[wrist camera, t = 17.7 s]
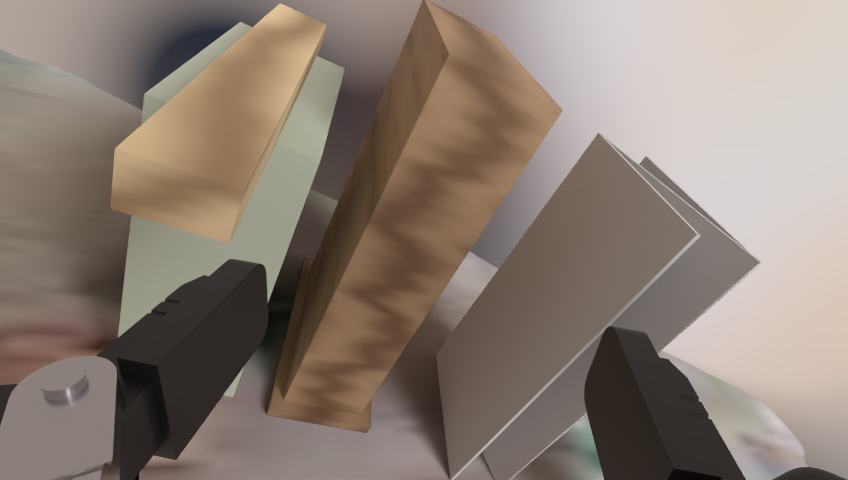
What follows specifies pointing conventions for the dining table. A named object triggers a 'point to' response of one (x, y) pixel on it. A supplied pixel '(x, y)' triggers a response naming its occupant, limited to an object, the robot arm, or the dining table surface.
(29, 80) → the dining table surface
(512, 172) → the tall wooden block
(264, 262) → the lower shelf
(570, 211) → the grey tall block
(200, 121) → the oak strip
